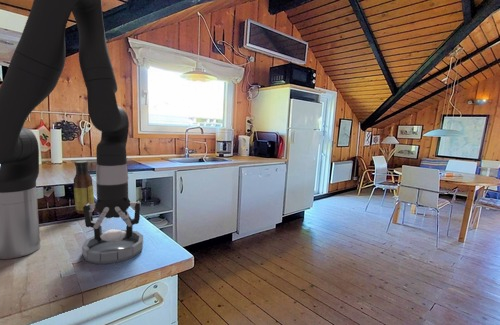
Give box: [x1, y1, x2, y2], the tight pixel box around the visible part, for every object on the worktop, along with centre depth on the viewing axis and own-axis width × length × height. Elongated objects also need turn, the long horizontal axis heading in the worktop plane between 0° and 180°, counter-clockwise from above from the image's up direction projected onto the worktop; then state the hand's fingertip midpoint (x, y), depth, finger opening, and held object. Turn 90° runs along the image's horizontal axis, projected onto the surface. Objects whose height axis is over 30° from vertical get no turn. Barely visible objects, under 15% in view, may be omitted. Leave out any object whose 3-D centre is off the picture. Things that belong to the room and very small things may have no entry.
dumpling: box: [100, 228, 126, 242], centre depth 72 cm, size 7×5×4 cm
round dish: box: [81, 229, 144, 265], centre depth 72 cm, size 15×15×3 cm
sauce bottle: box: [73, 160, 95, 215], centre depth 99 cm, size 7×6×20 cm
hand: (114, 239), depth 72 cm, fingers closed on dumpling, 6 cm apart
